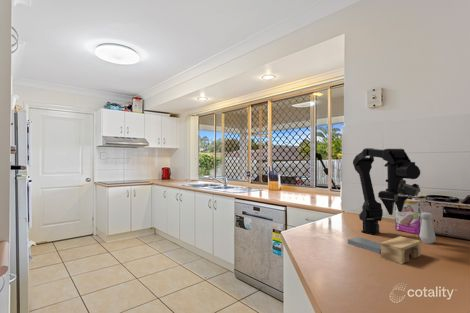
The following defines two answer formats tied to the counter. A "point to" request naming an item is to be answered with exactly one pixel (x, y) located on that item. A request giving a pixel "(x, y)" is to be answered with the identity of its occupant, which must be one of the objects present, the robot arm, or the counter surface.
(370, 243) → the slate tile
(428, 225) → the salt shaker
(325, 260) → the counter surface
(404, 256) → the oak block
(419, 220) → the candy bar box
